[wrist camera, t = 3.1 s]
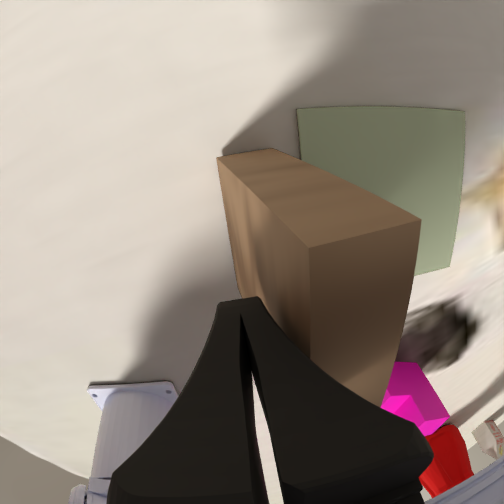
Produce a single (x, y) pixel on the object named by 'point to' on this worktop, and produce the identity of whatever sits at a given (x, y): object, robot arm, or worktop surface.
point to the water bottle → (446, 461)
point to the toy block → (414, 398)
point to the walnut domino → (322, 262)
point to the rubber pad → (396, 163)
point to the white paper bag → (490, 439)
